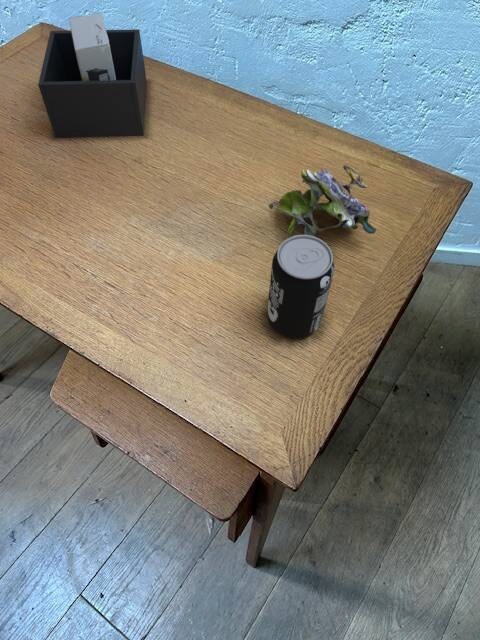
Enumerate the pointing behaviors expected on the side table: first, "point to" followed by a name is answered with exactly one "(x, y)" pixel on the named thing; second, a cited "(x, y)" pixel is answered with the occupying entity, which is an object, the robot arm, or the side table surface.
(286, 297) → the beverage can
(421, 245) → the side table surface
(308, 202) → the passion flower
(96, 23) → the ink box
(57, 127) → the open storage bin
